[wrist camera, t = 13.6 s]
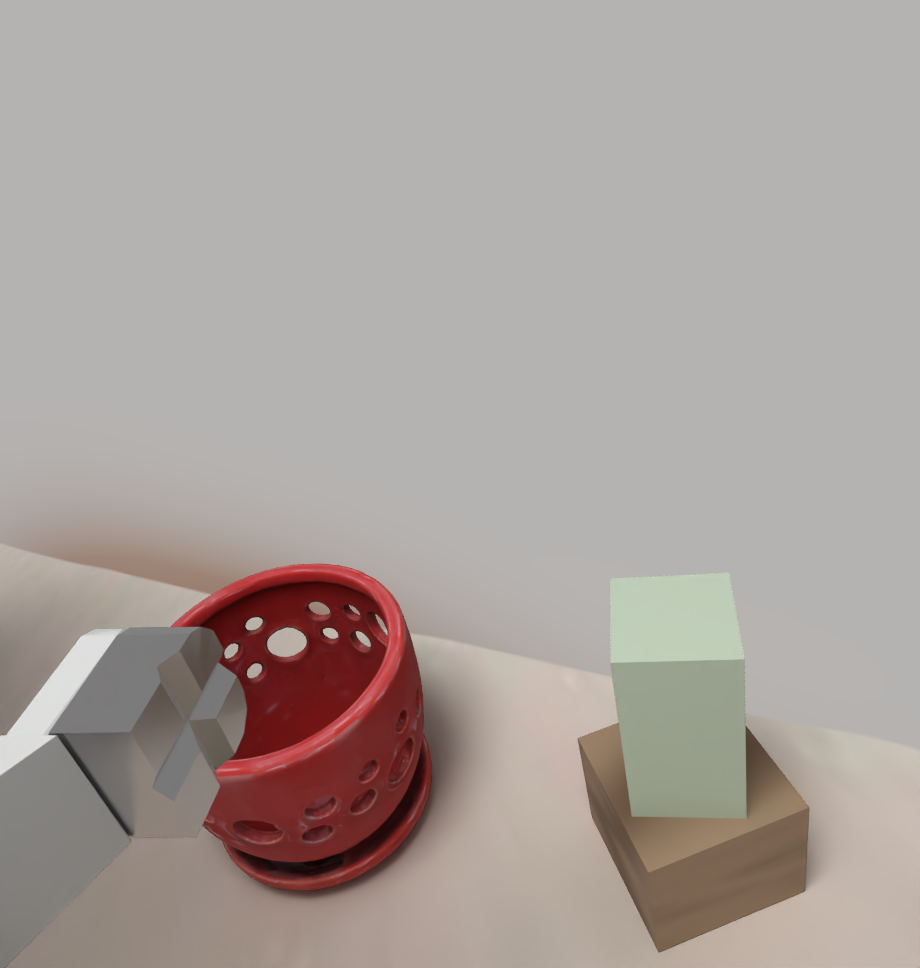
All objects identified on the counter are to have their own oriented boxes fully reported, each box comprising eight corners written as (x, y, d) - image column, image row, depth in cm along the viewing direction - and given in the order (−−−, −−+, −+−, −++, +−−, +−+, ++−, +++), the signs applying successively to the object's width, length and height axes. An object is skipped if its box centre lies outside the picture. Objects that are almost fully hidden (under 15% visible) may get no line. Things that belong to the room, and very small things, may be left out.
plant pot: (169, 877, 42) (63, 725, 36) (310, 691, 52) (246, 544, 45) (376, 970, 36) (294, 807, 30) (494, 739, 45) (451, 577, 39)
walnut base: (592, 817, 40) (577, 738, 37) (718, 767, 41) (715, 686, 38) (658, 952, 34) (648, 872, 31) (804, 890, 35) (809, 807, 32)
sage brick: (746, 818, 32) (744, 659, 27) (631, 816, 33) (610, 662, 28) (733, 727, 36) (729, 572, 31) (629, 728, 37) (610, 578, 32)
